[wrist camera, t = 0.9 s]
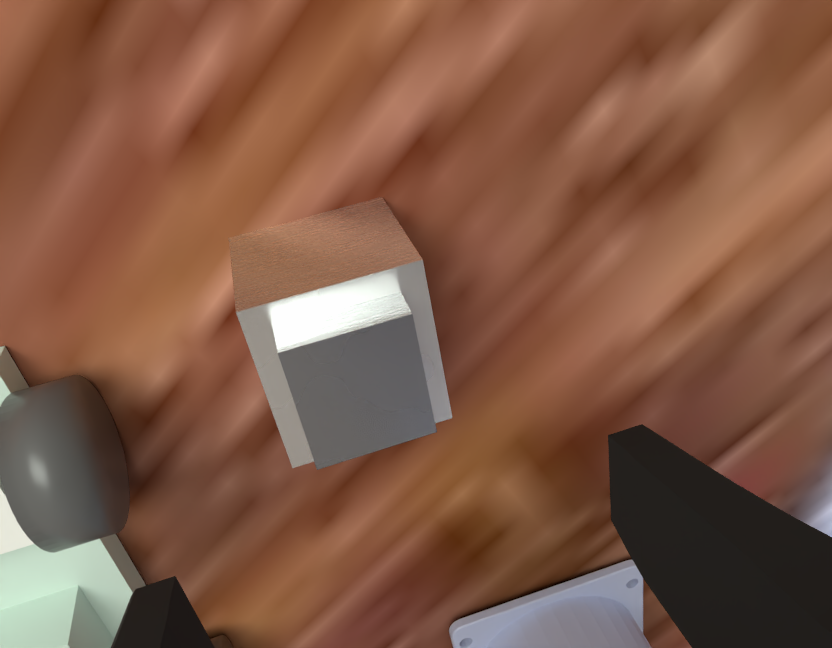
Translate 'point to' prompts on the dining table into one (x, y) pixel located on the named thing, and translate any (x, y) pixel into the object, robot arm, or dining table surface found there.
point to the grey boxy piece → (340, 332)
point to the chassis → (62, 516)
